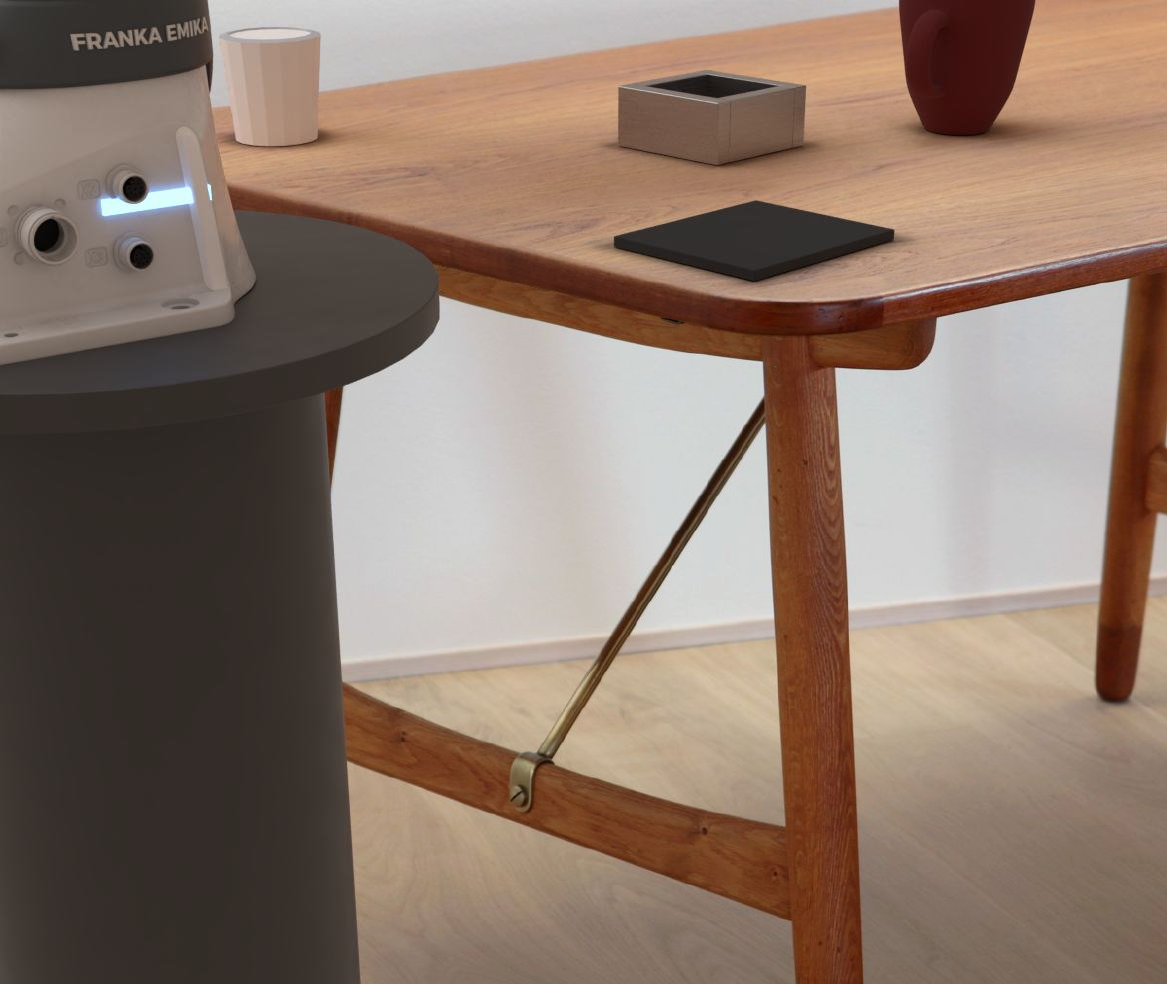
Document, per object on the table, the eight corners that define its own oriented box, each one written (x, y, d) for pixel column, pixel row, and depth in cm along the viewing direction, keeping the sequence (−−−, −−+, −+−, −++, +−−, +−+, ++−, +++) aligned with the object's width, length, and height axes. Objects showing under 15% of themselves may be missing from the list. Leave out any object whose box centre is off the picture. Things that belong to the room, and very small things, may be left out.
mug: (989, 155, 124) (1005, -25, 119) (858, 142, 127) (868, -33, 123) (1038, 123, 133) (1054, -44, 129) (914, 112, 137) (926, -51, 132)
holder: (716, 165, 121) (718, 102, 119) (617, 145, 126) (617, 85, 125) (803, 145, 127) (806, 85, 125) (704, 127, 132) (706, 69, 131)
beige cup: (290, 151, 125) (283, 43, 122) (206, 142, 128) (197, 36, 125) (346, 133, 130) (340, 29, 128) (263, 125, 133) (256, 23, 130)
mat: (754, 281, 96) (754, 270, 95) (613, 246, 102) (613, 236, 102) (894, 239, 103) (895, 229, 103) (755, 210, 110) (755, 199, 110)
